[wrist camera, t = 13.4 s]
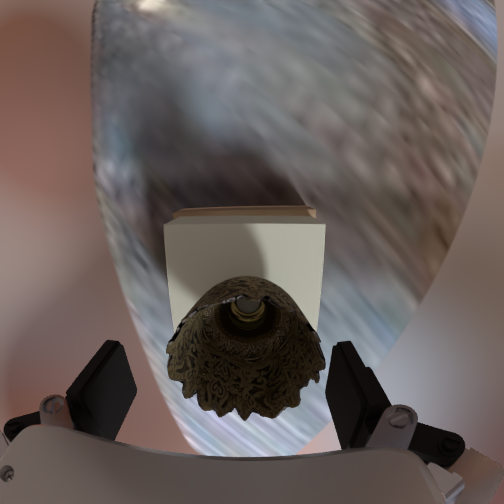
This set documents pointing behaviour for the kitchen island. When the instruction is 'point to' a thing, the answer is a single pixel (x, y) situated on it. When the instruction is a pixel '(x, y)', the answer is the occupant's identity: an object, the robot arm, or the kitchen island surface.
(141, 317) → the kitchen island surface
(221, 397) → the dark brown tapered piece
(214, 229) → the tower top
